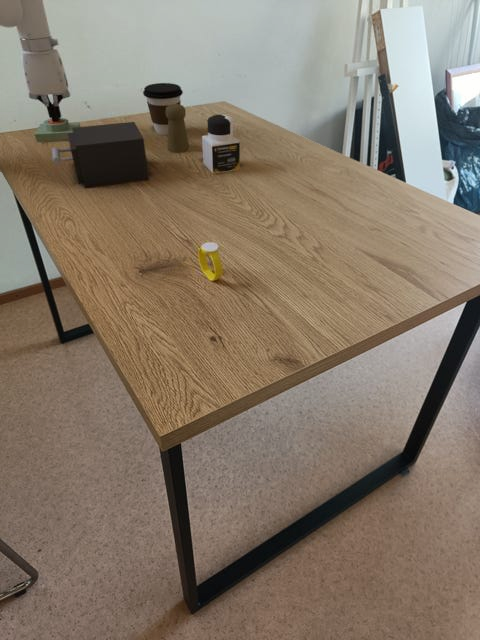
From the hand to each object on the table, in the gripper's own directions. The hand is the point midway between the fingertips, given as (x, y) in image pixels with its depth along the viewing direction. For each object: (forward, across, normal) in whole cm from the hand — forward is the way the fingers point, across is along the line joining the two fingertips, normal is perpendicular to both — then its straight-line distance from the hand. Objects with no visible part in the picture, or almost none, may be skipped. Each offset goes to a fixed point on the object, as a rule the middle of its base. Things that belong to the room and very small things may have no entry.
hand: (56, 120), depth 127 cm
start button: (+2, 0, 0) cm, 2 cm away
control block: (+4, 0, 0) cm, 4 cm away
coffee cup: (+5, -30, +1) cm, 31 cm away
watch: (+4, -35, +77) cm, 84 cm away
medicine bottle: (+5, -43, +30) cm, 52 cm away
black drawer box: (+4, -17, +30) cm, 34 cm away
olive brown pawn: (+5, -33, +15) cm, 37 cm away
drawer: (+3, -13, +31) cm, 33 cm away
